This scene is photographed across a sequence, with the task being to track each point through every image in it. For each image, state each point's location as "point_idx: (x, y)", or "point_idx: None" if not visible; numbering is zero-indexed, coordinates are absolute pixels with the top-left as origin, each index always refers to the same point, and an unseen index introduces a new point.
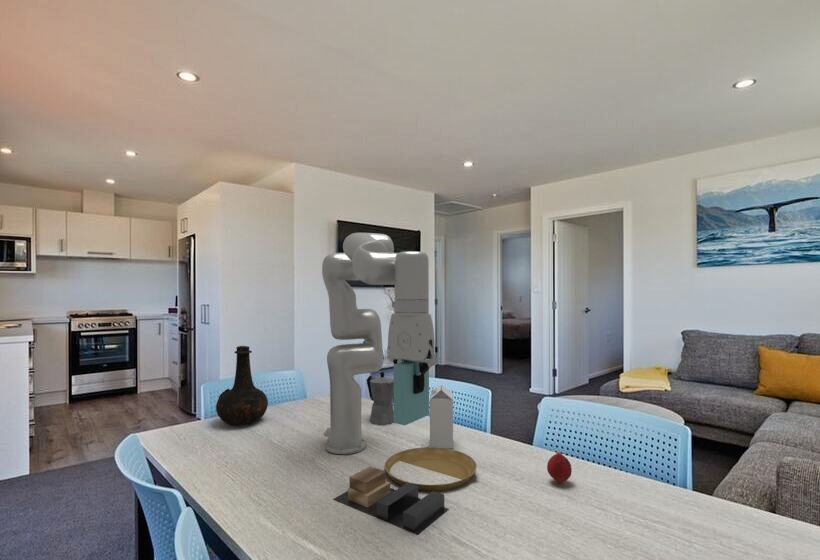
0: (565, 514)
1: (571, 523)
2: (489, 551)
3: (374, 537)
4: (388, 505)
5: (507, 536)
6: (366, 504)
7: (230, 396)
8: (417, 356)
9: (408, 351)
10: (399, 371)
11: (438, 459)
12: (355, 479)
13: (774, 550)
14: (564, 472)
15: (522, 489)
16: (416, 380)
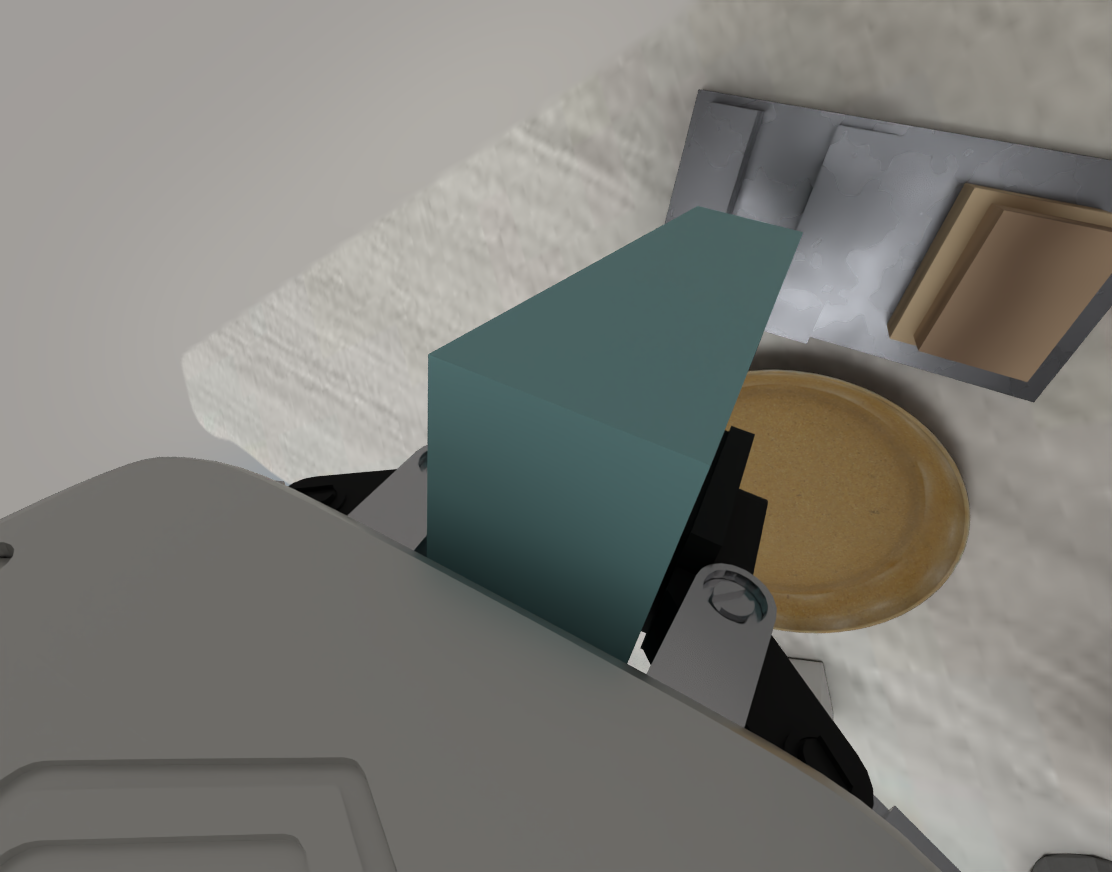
0: (423, 369)
1: (406, 337)
2: (507, 142)
3: (872, 14)
4: (837, 133)
5: (492, 232)
6: (974, 185)
7: None
8: (152, 505)
9: (230, 676)
10: (597, 350)
11: (770, 586)
12: (1085, 226)
13: (203, 349)
14: None
15: None
16: None
